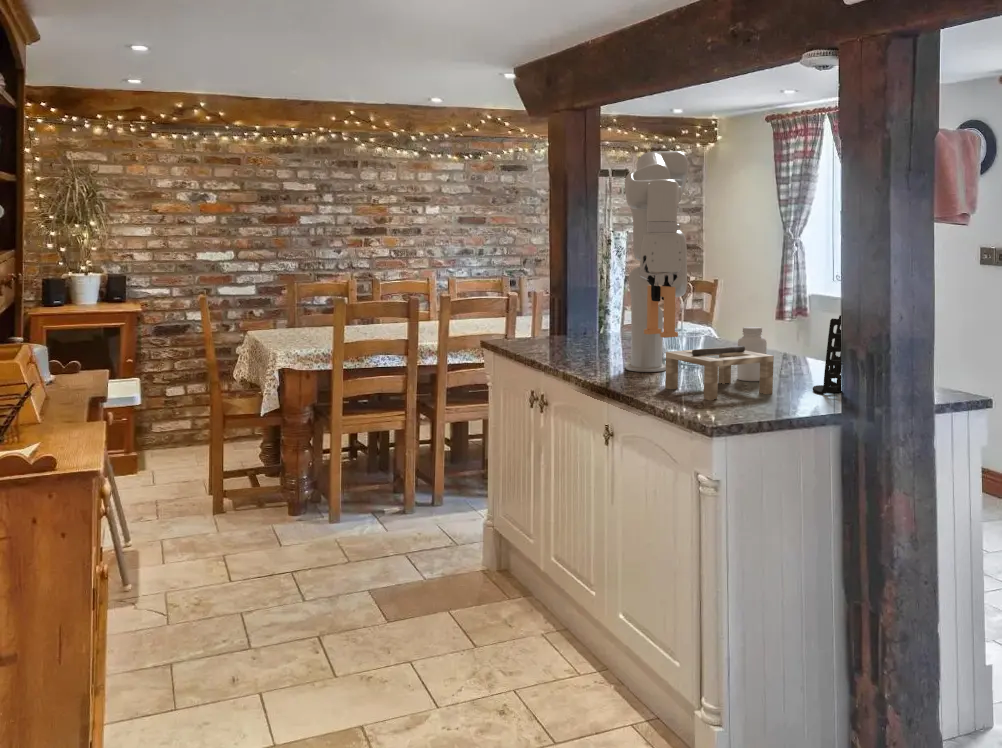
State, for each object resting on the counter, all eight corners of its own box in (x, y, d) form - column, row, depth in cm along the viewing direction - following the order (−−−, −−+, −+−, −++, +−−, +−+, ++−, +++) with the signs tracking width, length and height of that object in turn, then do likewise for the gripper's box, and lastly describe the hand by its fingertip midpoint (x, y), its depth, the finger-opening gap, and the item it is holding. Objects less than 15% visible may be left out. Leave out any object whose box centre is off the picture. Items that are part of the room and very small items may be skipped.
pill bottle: (744, 376, 272) (745, 325, 269) (770, 378, 267) (771, 326, 264) (732, 380, 266) (733, 327, 263) (758, 382, 261) (760, 329, 258)
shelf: (709, 400, 237) (710, 355, 235) (665, 388, 255) (665, 346, 253) (772, 393, 245) (773, 349, 243) (725, 382, 263) (726, 341, 261)
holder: (811, 386, 253) (822, 313, 249) (841, 389, 251) (852, 316, 247) (812, 393, 242) (824, 317, 238) (843, 397, 240) (855, 321, 236)
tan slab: (664, 337, 237) (665, 287, 235) (643, 333, 246) (644, 285, 244) (677, 336, 239) (678, 287, 237) (656, 332, 248) (657, 284, 246)
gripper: (679, 228, 245) (678, 298, 248) (627, 229, 238) (626, 301, 241) (696, 228, 238) (695, 300, 241) (642, 229, 231) (642, 303, 234)
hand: (660, 300), depth 241 cm, fingers closed on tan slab, 2 cm apart
